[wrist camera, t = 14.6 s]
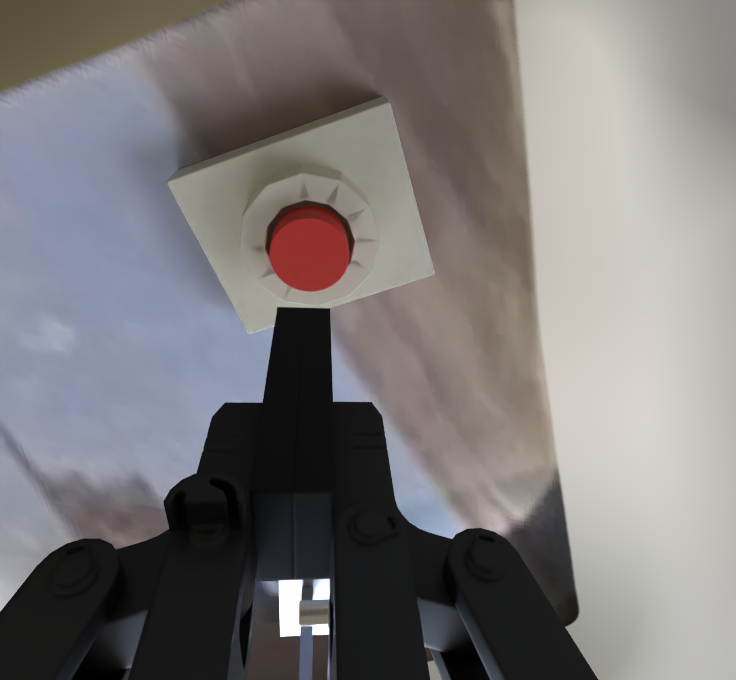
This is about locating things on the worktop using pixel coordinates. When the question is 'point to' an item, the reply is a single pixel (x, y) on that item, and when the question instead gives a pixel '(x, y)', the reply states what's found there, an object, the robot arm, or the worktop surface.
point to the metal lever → (314, 616)
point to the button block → (308, 188)
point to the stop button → (309, 249)
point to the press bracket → (289, 616)
